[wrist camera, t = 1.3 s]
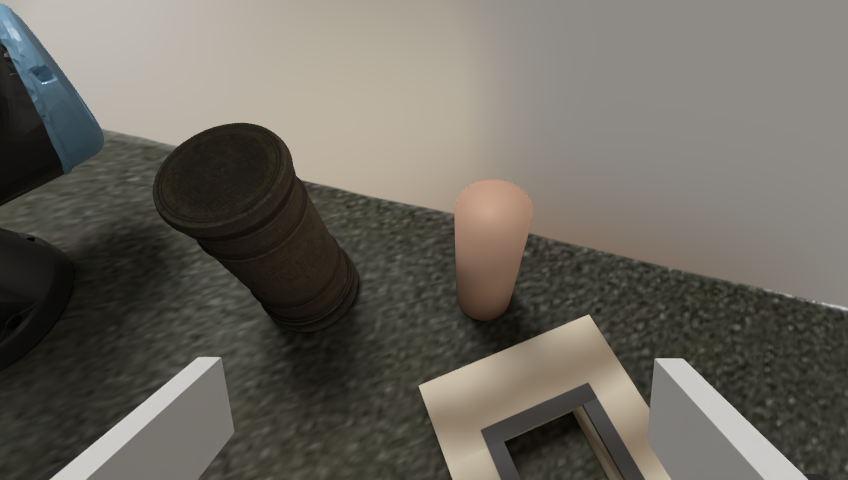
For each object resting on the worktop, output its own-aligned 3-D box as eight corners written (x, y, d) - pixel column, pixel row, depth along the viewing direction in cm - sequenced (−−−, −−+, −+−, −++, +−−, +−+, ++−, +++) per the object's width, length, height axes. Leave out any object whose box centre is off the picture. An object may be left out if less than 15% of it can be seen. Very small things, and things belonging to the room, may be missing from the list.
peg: (448, 282, 39) (442, 194, 27) (495, 264, 40) (510, 169, 28) (470, 328, 36) (474, 254, 25) (520, 308, 37) (548, 226, 25)
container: (372, 263, 41) (318, 130, 25) (333, 347, 37) (240, 250, 21) (295, 240, 43) (202, 105, 28) (250, 317, 39) (111, 209, 23)
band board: (421, 392, 34) (418, 384, 31) (579, 326, 36) (590, 312, 33) (525, 678, 25) (534, 704, 22) (729, 570, 27) (762, 580, 24)
